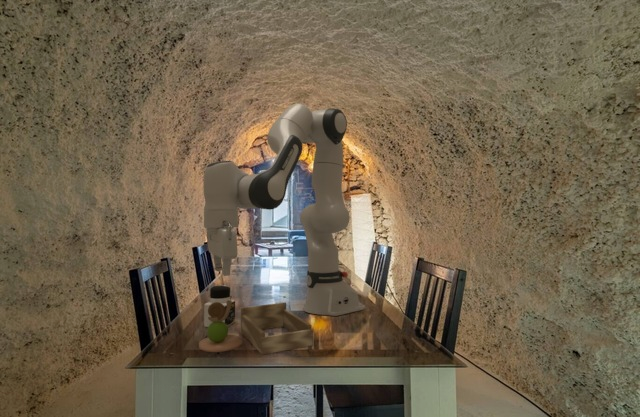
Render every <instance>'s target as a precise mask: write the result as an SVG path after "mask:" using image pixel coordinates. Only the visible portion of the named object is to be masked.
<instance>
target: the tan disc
mask: <svg viewBox="0 0 640 417" xmlns="http://www.w3.org/2000/svg"><path fill="white" fill-rule="evenodd" d="M242 344H243V339H242V337H240V336H239V335H236V334H227V336H226V338H225V339H224V340H223V341H221V342H212V341H211V340H209V338H208V336H207V337H205V338H202V339H201V340H200V341H199V342H198V348H199V349H200V350H201V351H203V352H207V353H222V352H228V351H233V350H235V349H238V348H239V347H240V346H242Z"/></svg>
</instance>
